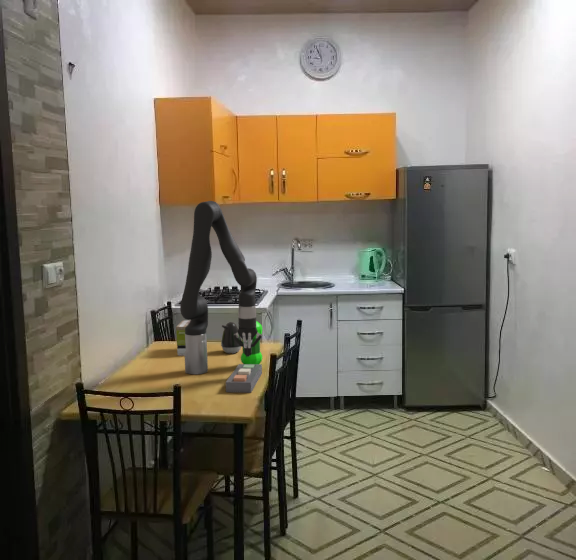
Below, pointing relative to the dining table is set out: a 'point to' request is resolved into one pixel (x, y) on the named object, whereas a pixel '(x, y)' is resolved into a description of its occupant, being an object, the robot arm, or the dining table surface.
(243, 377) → the terracotta button
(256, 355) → the plastic bottle
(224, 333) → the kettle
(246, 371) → the cream button
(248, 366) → the green button
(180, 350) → the tea box
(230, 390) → the button panel
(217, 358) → the dining table surface
